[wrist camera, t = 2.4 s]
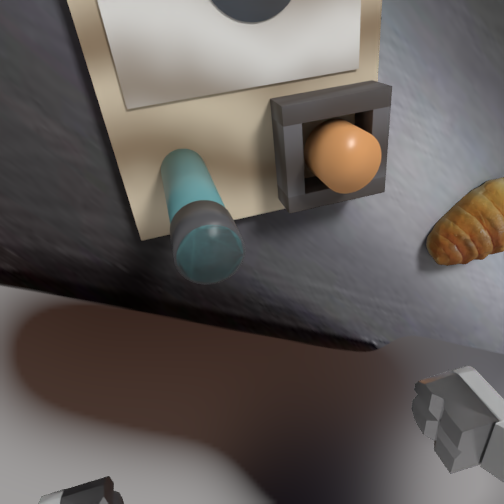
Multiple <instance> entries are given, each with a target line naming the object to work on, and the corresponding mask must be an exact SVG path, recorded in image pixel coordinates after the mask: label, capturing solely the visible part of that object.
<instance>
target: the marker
mask: <svg viewBox="0 0 504 504" xmlns="http://www.w3.org/2000/svg"><path fill="white" fill-rule="evenodd" d="M161 176H162V181H163V187H164V193H165V198H166V204H167V209H168V215H169V220H170V238H171V244H172V249H173V255H174V261H175V265H176V267H177V269H178V271H179V272H180V274H181V275H182V276H183V277H185V278H186V279H188V280H190V281H192V282H195V283H198V284H214V283H218V282H221V281H223V280H225V279H227V278H229V277H230V276H232V275H233V274H234V273H235V272H236V271H237V270H238V269H239V267H240V266H241V264H242V262H243V260H244V256H245V245H244V241H243V239H242V237H241V235H240V233H239V231H238V228H237V226H236V224H235V222H234V220H233V218H232V216H231V214H230V212H229V211H228V210H227V209H226V208H225V206H224V203H223V201H222V199H221V197H220V195H219V193H218V190H217V188H216V186H215V184H214V182H213V180H212V178H211V175H210V173H209V171H208V169H207V167H206V165H205V163H204V160H203V159H202V157H201V156H200V155H199V154H198V153H196V152H195V151H193V150H190V149H177V150H174V151H172V152H170V153H169V154H168V155H167V156H166V157H165V158H164V160H163V162H162V165H161Z"/></svg>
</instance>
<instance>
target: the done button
mask: <svg viewBox="0 0 504 504" xmlns="http://www.w3.org/2000/svg"><path fill="white" fill-rule="evenodd" d="M304 159H305V163H306V165H307V167H308V168H309V169H310V171H311V172H313V173H314V174H315V175H316V176H317V177H318V178H319V179H320V180H321V181H322V182H323V183H324V184H325V185H327V186H328V187H329V188H330V189H331V190H333V191H335V192H337V193H343V194H347V193H352V192H356V191H358V190H360V189H362V188H363V187H365V186H366V185H367V184H368V183H369V182H370V181H371V180H372V179H373V178H374V176H375V175H376V173H377V171H378V169H379V166H380V163H381V148H380V145H379V142H378V141H377V139H376V138H375V137H374V136H373V135H371V134H370V133H368V132H366V131H364V130H362V129H361V128H359V127H357V126H355V125H353V124H351V123H350V122H348V121H346V120H343V119H330V120H327V121H324V122H322V123H321V124H319V125H318V126H317V127H316V128H315V129H314V130H313V131H312V132H311V133H310V135H309V137H308V138H307V141H306V143H305V147H304Z"/></svg>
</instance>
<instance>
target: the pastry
mask: <svg viewBox="0 0 504 504" xmlns="http://www.w3.org/2000/svg"><path fill="white" fill-rule="evenodd" d="M426 246H427V249H428V252H429V254H430V255H431V256H432V257H433V259H434V260H435V262H436V263H437V264H439V265H447V266H448V265H454V264H467V263H468V262H470V261H472V260H473V259H479V260H482V259H484V258H485V257H486V256H488V255H489V254H495V253H499V252H503V251H504V177H503V178H499V179H494V180H489V181H486V182H485V183H484V184H483V185H482V186H480V187H478V188H475V189H473V190H472V191H470V192H469V193H468V194H467V195H465V196H464V197H463V198H462V199H461V200H460V201H459V202H458V203H456V204H455V205H454V206H453V207H452V208H451V209H450V210H449V211H448V212H447V213H446V214H445V215H444V216H443V217H442V218H441V219H440V220H439V221H438V222H437V223H436V224H435V225H434V228H433V230H432V231H431V233H430V234H429V235H428V237H427V242H426Z"/></svg>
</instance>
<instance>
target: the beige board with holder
mask: <svg viewBox="0 0 504 504" xmlns="http://www.w3.org/2000/svg"><path fill="white" fill-rule="evenodd" d="M67 2H68V5H69V9H70V12H71V15H72V18H73V21H74V25H75V28H76V31H77V34H78V38H79V41H80V44H81V47H82V51H83V54H84V57H85V60H86V63H87V67H88V70H89V73H90V76H91V80H92V83H93V86H94V89H95V93H96V96H97V99H98V102H99V105H100V109H101V112H102V115H103V118H104V122H105V125H106V128H107V131H108V134H109V138H110V141H111V144H112V147H113V151H114V154H115V157H116V160H117V164H118V167H119V170H120V173H121V176H122V180H123V183H124V186H125V189H126V193H127V196H128V199H129V202H130V205H131V209H132V212H133V215H134V218H135V222H136V225H137V228H138V231H139V235H140V238H141V241H142V240H147V239H151V238H156V237H160V236H164V235H169V234H170V220H169V215H168V209H167V204H166V198H165V193H164V187H163V181H162V176H161V165H162V162H163V160H164V158H165V157H166V156H167V155H168V154H169V153H170V152H172V151H174V150H177V149H190V150H193V151H195V152H196V153H198V154H199V155H200V156H201V157H202V159H203V160H204V163H205V165H206V167H207V169H208V171H209V173H210V175H211V178H212V180H213V182H214V184H215V186H216V188H217V190H218V193H219V195H220V197H221V199H222V201H223V203H224V206H225V208H226V209H227V210H228V211H229V212H230V214H231V216H232V218H233V220H236V219H241V218H245V217H249V216H254V215H258V214H263V213H267V212H272V211H276V210H281V209H285V208H286V210H287V211H288V212H289V213H294V212H298V211H303V210H307V209H312V208H316V207H320V206H325V205H329V204H334V203H338V202H343V201H347V200H351V199H356V198H360V197H365V196H369V195H374V194H378V193H382V192H384V191H385V177H386V163H387V149H388V136H389V122H390V108H391V94H392V86H389V85H386V84H383V83H379V82H378V63H379V45H380V26H381V7H382V0H67ZM330 119H343V120H346V121H348V122H350V123H351V124H353V125H355V126H357V127H359V128H361V129H362V130H364V131H366V132H368V133H370V134H371V135H373V136H374V137H375V138H376V139H377V141H378V142H379V145H380V148H381V163H380V166H379V169H378V171H377V173H376V175H375V176H374V178H373V179H372V180H371V181H370V182H369V183H368V184H367V185H366V186H365V187H363V188H362V189H360V190H358V191H356V192H352V193H347V194H343V193H337V192H335V191H333V190H331V189H330V188H329V187H328V186H327V185H325V184H324V183H323V182H322V181H321V180H320V179H319V178H318V177H317V176H316V175H315V174H314V173H313V172H311V171H310V169H309V168H308V167H307V165H306V163H305V159H304V147H305V143H306V141H307V138H308V137H309V135H310V133H311V132H312V131H313V130H314V129H315V128H316V127H317V126H318V125H319V124H321V123H322V122H324V121H327V120H330Z"/></svg>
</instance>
